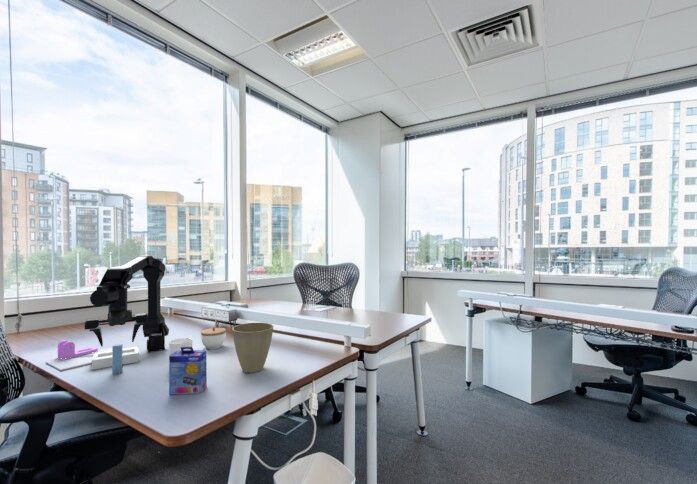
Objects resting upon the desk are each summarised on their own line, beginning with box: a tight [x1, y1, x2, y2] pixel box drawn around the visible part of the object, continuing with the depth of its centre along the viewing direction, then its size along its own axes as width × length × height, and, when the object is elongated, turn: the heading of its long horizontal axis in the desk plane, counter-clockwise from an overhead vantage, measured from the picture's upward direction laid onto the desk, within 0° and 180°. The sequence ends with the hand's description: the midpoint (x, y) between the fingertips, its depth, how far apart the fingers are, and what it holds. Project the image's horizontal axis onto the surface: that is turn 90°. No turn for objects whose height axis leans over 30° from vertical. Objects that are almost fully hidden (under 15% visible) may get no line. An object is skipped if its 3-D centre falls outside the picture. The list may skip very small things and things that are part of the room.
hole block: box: [91, 345, 140, 371], centre depth 130 cm, size 15×11×4 cm
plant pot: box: [232, 322, 274, 374], centre depth 121 cm, size 15×15×16 cm
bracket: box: [57, 339, 99, 360], centre depth 140 cm, size 13×6×7 cm, turn 151°
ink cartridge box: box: [168, 346, 208, 395], centre depth 103 cm, size 10×6×14 cm, turn 95°
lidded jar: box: [200, 326, 227, 350], centre depth 149 cm, size 11×11×9 cm
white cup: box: [168, 337, 193, 356], centre depth 124 cm, size 8×8×10 cm
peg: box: [111, 343, 123, 375], centre depth 118 cm, size 3×3×10 cm
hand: (117, 344), depth 118 cm, fingers open, 9 cm apart
